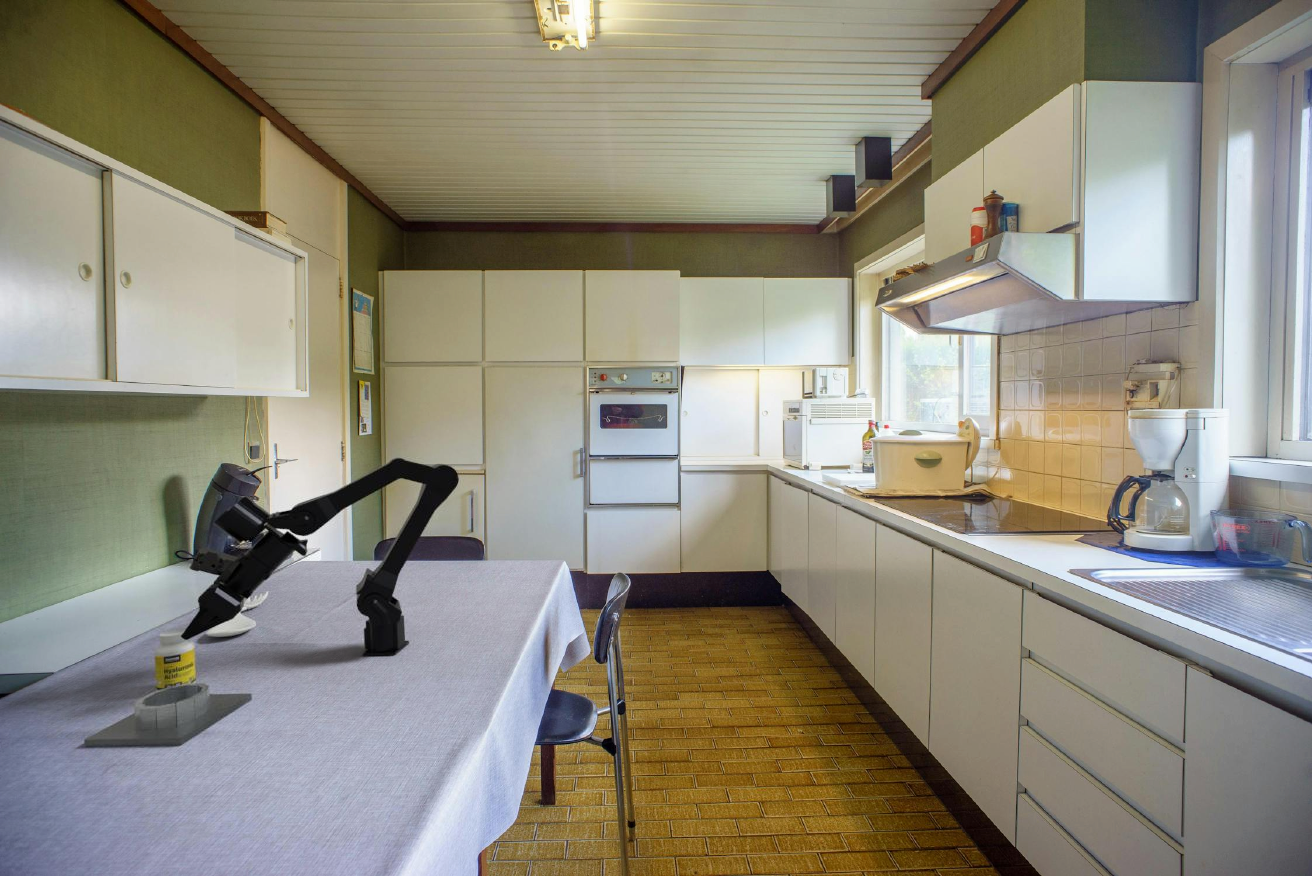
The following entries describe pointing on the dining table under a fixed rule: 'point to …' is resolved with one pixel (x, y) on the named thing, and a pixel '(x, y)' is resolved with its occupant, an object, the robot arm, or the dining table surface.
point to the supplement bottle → (174, 660)
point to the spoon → (237, 621)
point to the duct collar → (169, 717)
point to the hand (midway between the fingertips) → (190, 630)
